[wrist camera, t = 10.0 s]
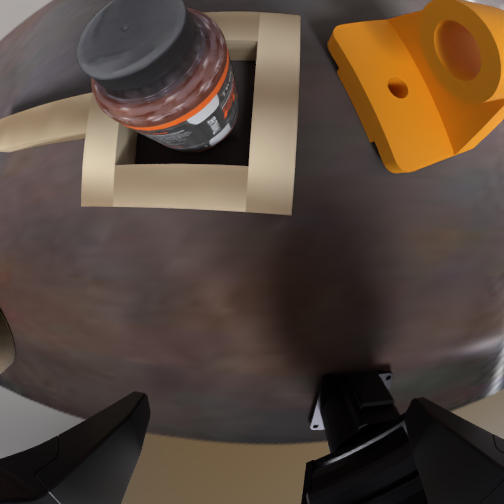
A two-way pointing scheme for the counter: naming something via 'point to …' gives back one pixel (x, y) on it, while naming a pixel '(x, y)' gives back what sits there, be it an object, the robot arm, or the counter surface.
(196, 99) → the supplement bottle
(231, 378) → the counter surface
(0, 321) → the pillar candle
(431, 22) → the bracket
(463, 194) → the counter surface
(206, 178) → the wooden frame with handle
